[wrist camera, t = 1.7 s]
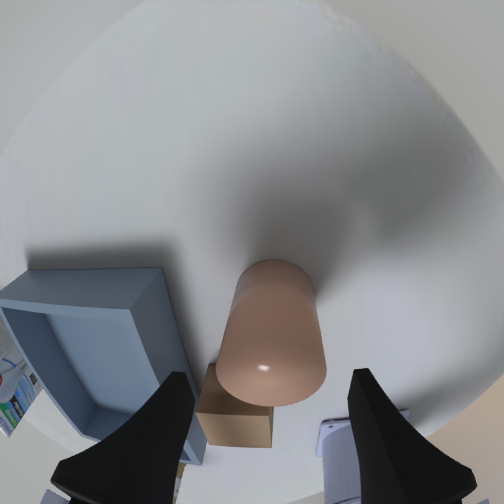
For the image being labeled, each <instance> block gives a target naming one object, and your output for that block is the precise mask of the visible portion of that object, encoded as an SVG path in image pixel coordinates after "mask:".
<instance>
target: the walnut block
mask: <svg viewBox="0 0 504 504" xmlns="http://www.w3.org/2000/svg"><path fill="white" fill-rule="evenodd" d="M273 411H274V407H270V406H259V405H254V404H250V403H247V402H244V401H242V400H240V399H238V398H236V397H234V396H233V395H231V394H230V393H229V392H227V391H226V390H225V389H224V388H223V386H222V385H221V384H220V382H219V380H218V378H217V375H216V365H210V364H209V365H208V368H207V372H206V375H205V379H204V383H203V386H202V390H201V393H200V397H199V400H198V404H197V408H196V411H195V413H196V416H197V418H198V420H199V423H200V425H201V427H202V430H203V432H204V434H205V436H206V439H207V441H208V443H209V445H216V446H229V447H249V448H272V432H273Z"/></svg>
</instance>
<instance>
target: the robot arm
mask: <svg viewBox="0 0 504 504" xmlns="http://www.w3.org/2000/svg"><path fill="white" fill-rule="evenodd" d="M347 399H348V409H349V418H350V419H349V420H340V421H330V422H324V423H322V424H321V427H320V432H319V438H318V443H317V448H316V453H315V456H316V457H323V473H324V494H325V504H462V500H461V499H462V498H464V497H466V496H467V495H468V494H470V493H471V492H472V491H474V490H475V489H476V487H477V483H476V480H475V477H474V474H473V472H472V470H471V469H470V468H468V467H466V466H464V465H462V464H460V463H459V462H457V461H455V460H454V459H452V458H450V457H449V456H447V455H446V454H444V453H443V452H442V451H440V450H439V449H438V448H436V447H435V446H434V445H432V444H431V443H430V442H429V441H428V440H426V439H425V438H424V437H423V436H422V435H421V434H420V433H419V432H418V431H417V430H416V429H415V428H414V427H413V426H412V425H411V424H410V422H409V419H408V416H409V414H410V412H409V410H404V411H398V409H397V408H396V407H395V406H394V404H393V403H392V402H391V400H390V399H389V398H388V396H387V395H386V394H385V392H384V391H383V389H382V388H381V387H380V385H379V384H378V382H377V381H376V379H375V378H374V376H373V374H372V373H371V371H370V370H369V369H368V368H363V369H354V371H353V376H352V380H351V385H350V389H349V394H348V398H347ZM194 406H195V397H194V395H193V392H192V389H191V387H190V384H189V381H188V378H187V375H186V373H185V372H176V371H172V372H171V373H170V375H169V376H168V377H167V378H166V379H165V381H164V382H163V383H162V384H161V385H160V387H159V388H158V389H157V390H156V391H155V392H154V394H153V395H152V396H151V397H150V398H149V399H148V400H147V401H146V402H145V404H144V405H143V406H142V407H141V408H140V409H139V410H138V411H137V412H136V413H135V414H134V415H133V416H132V417H131V418H130V419H129V420H127V421H126V422H125V423H124V424H123V425H122V426H120V427H119V428H118V429H117V430H116V431H114V432H113V433H112V434H110V435H109V436H107V437H106V438H105V439H103V440H102V441H100V442H99V443H97V444H95V445H93V446H92V447H90V448H88V449H86V450H84V451H83V452H81V453H78V454H76V455H74V456H71V457H69V458H67V459H64V460H61V461H60V462H59V463H58V465H57V467H56V469H55V471H54V473H53V476H52V478H51V480H50V481H51V483H52V484H53V485H54V486H56V487H57V488H58V489H60V490H61V491H63V492H64V493H66V494H67V495H68V496H70V497H71V500H70V501H68V500H66V499H65V498H63V497H61V496H59V495H57V494H56V493H54V492H52V491H50V490H49V489H47V490H46V492H45V494H44V496H43V499H42V501H41V503H40V504H173V495H174V488H175V481H176V475H177V470H178V465H179V461H180V457H181V454H182V451H183V447H184V444H185V441H186V438H187V435H188V431H189V428H190V425H191V422H192V418H193V412H194ZM477 504H489V500H488V499H485V500H483V501H481V502H480V503H477Z"/></svg>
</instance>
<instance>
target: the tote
mask: <svg viewBox="0 0 504 504" xmlns="http://www.w3.org/2000/svg"><path fill="white" fill-rule="evenodd" d="M0 315H1V317H2V319H3V321H4V323H5V325H6V327H7V329H8V331H9V333H10V335H11V337H12V338H13V340H14V342H15V344H16V346H17V348H18V349H19V351H20V353H21V354H22V356H23V358H24V359H25V361H26V363H27V364H28V366H29V368H30V369H31V371H32V372H33V374H34V375H35V377H36V378H37V380H38V381H39V383H40V384H41V386H42V387H43V389H44V390H45V392H46V393H47V394H48V396H49V397H50V398H51V400H52V401H53V402H54V404H55V405H56V406H57V408H58V409H59V410H60V412H61V413H62V414H63V415H64V417H65V418H66V419H67V420H68V421H69V423H70V424H71V425H72V426H73V427H74V429H75V430H76V431H77V432H78V433H79V434H80V435H81V436H82V437H85V438H88V439H90V440H93V441H96V442H100V441H102V440H103V439H105V438H106V437H107V436H109V435H110V434H112V433H113V432H114V431H116V430H117V429H118V428H119V427H120V426H122V425H123V424H124V423H125V422H126V421H127V420H129V419H130V418H131V417H132V416H133V415H134V414H135V413H136V412H137V411H138V410H139V409H140V408H141V407H142V406H143V405H144V404H145V402H146V401H147V400H148V399H149V398H150V397H151V396H152V395H153V394H154V392H155V391H156V390H157V389H158V388H159V387H160V385H161V384H162V383H163V382H164V381H165V379H166V378H167V377H168V376H169V375H170V373H171V372H172V371H176V372H185V373H186V375H187V378H188V381H189V384H190V387H191V389H192V392H193V395H194V397H195V406H194V412H193V418H192V422H191V425H190V428H189V431H188V435H187V438H186V441H185V444H184V447H183V451H182V454H181V457H180V461H179V462H181V463H187V464H194V465H202V462H203V457H204V453H205V448H206V444H207V439H206V436H205V434H204V432H203V430H202V427H201V425H200V423H199V420H198V418H197V416H196V413H195V411H196V408H197V404H198V400H199V394H198V391H197V388H196V385H195V382H194V379H193V376H192V373H191V370H190V367H189V364H188V361H187V357H186V354H185V351H184V348H183V344H182V341H181V338H180V334H179V331H178V327H177V324H176V320H175V317H174V313H173V309H172V305H171V302H170V298H169V294H168V290H167V286H166V282H165V278H164V274H163V269H162V267H152V268H117V269H76V270H27V271H26V272H24V273H23V274H22V275H20V276H19V277H18V278H16V279H15V280H14V281H13V282H11V283H10V284H9V285H7V286H6V287H5V288H4V289H2V290H1V291H0Z"/></svg>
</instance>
